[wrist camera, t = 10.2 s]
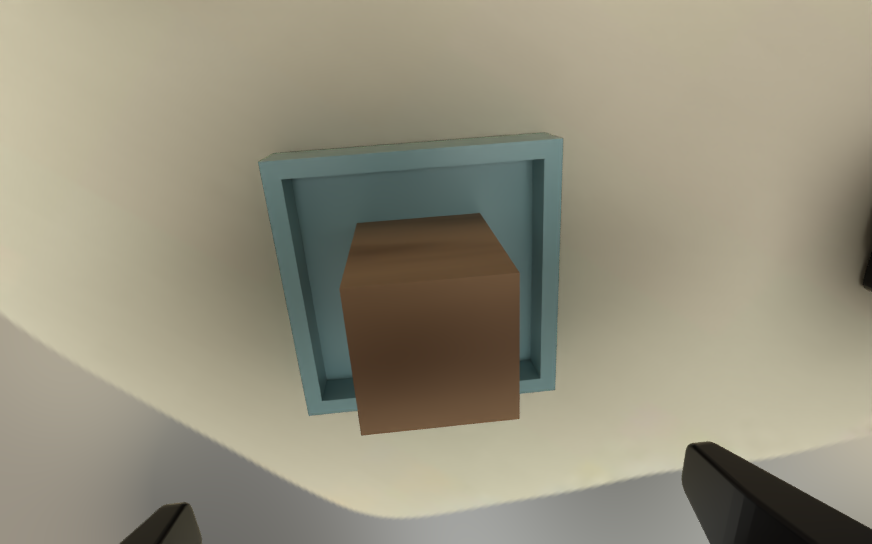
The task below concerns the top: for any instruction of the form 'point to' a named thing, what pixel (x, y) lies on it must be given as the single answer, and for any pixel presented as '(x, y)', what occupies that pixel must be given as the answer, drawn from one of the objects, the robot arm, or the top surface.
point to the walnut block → (431, 324)
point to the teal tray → (405, 199)
